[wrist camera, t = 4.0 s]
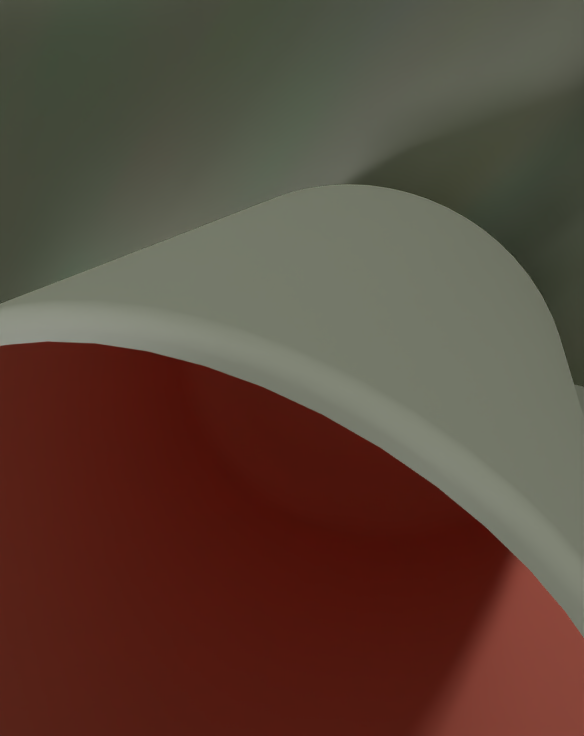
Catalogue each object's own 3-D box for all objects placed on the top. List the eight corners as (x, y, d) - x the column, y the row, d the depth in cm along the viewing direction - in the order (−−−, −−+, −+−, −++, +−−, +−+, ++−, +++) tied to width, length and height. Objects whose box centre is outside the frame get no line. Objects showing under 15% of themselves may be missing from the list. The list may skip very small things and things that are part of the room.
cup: (427, 81, 12) (237, -12, 3) (633, 449, 13) (889, 1058, 5) (133, 304, 16) (-261, 513, 8) (314, 552, 18) (154, 945, 10)
